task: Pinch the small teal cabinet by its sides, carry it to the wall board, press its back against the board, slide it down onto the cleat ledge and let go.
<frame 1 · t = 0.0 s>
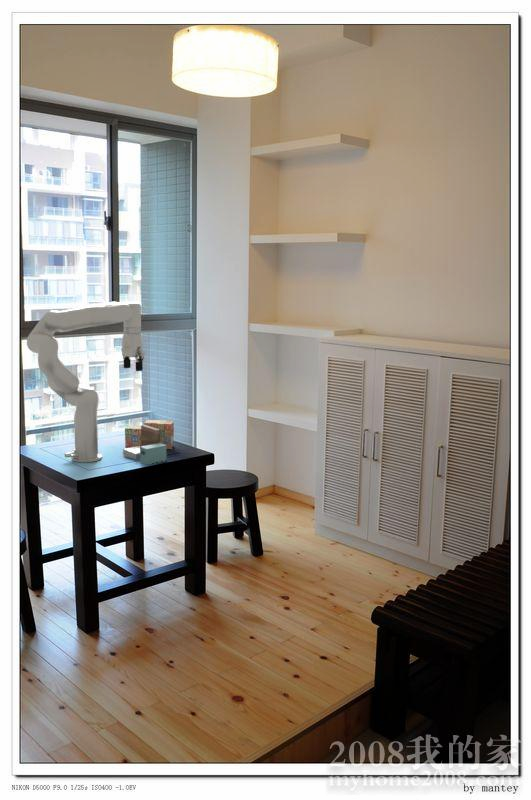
hand: (133, 369, 330), 37 cm above the table, tool pointing down, fingers open, 9 cm apart
wall board: (150, 453, 331), on the table
teal cabinet: (153, 461, 319), on the table
stack of blocks: (149, 447, 342), on the table
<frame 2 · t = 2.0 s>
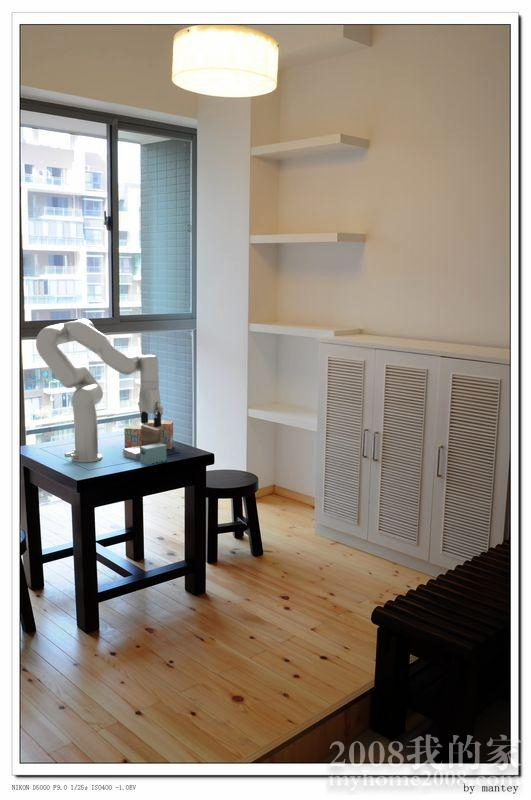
hand: (151, 424, 315), 16 cm above the table, tool pointing down, fingers open, 9 cm apart
nothing on the table moved.
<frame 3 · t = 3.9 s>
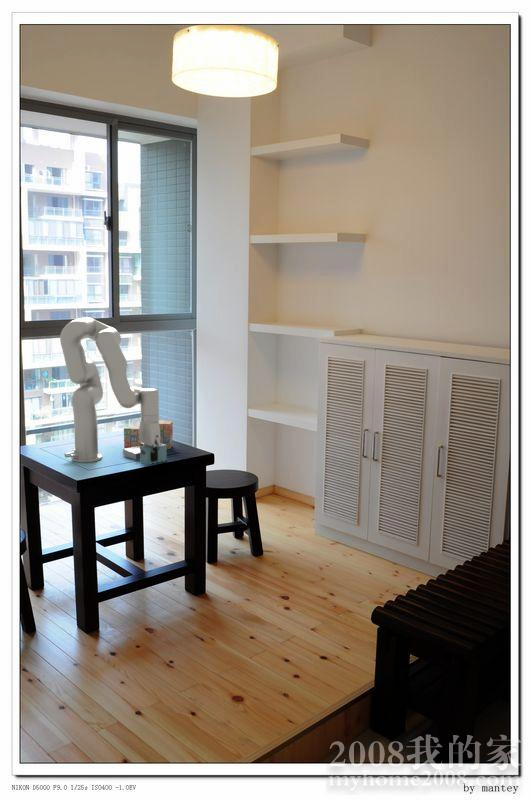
hand: (150, 459, 318), 1 cm above the table, tool pointing down, fingers closed on teal cabinet, 5 cm apart
teal cabinet: (153, 461, 319), on the table, touching gripper
everything else where it was.
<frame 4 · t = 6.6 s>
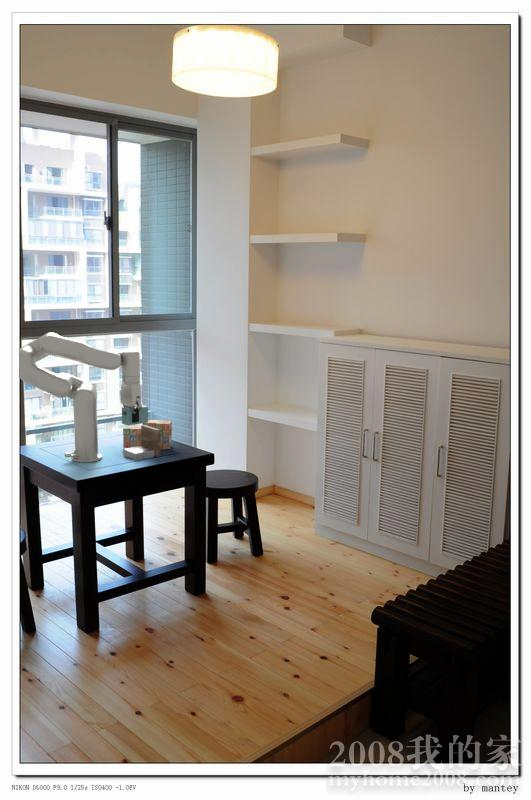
hand: (132, 420, 322), 16 cm above the table, tool pointing down, fingers closed on teal cabinet, 5 cm apart
teal cabinet: (135, 422, 323), point 15 cm above the table, touching gripper
everything else where it was.
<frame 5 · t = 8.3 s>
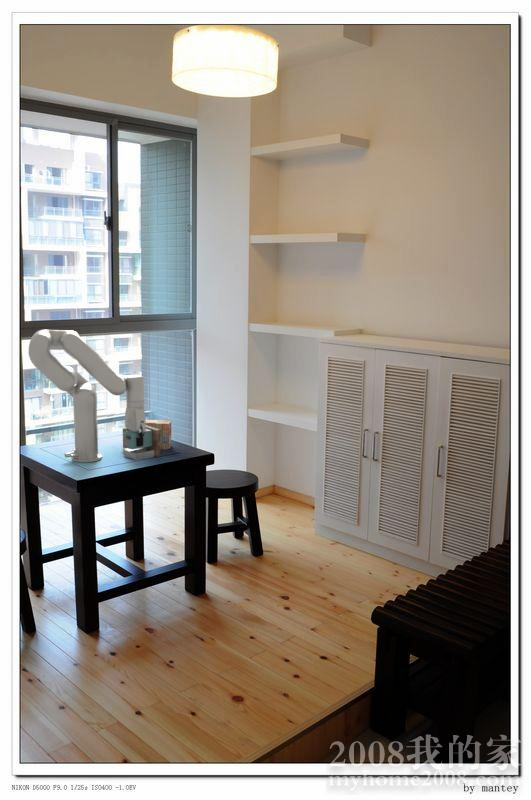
hand: (136, 444, 325), 6 cm above the table, tool pointing down, fingers closed on teal cabinet, 5 cm apart
teal cabinet: (139, 446, 326), point 4 cm above the table, touching gripper, wall board
when the fingers open (4 cm above the table, at t = 9.5 s): teal cabinet stays where it is, resting on wall board.
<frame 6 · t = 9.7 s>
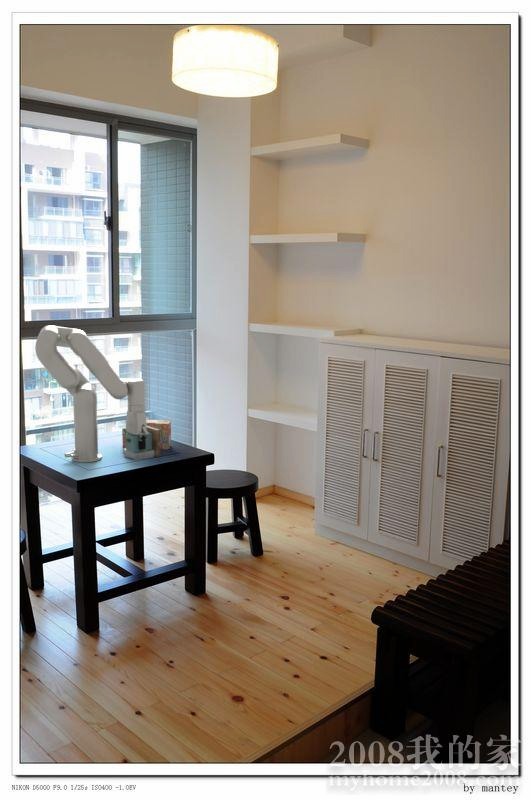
hand: (137, 447, 326), 4 cm above the table, tool pointing down, fingers open, 7 cm apart
teal cabinet: (139, 449, 327), point 3 cm above the table, touching wall board
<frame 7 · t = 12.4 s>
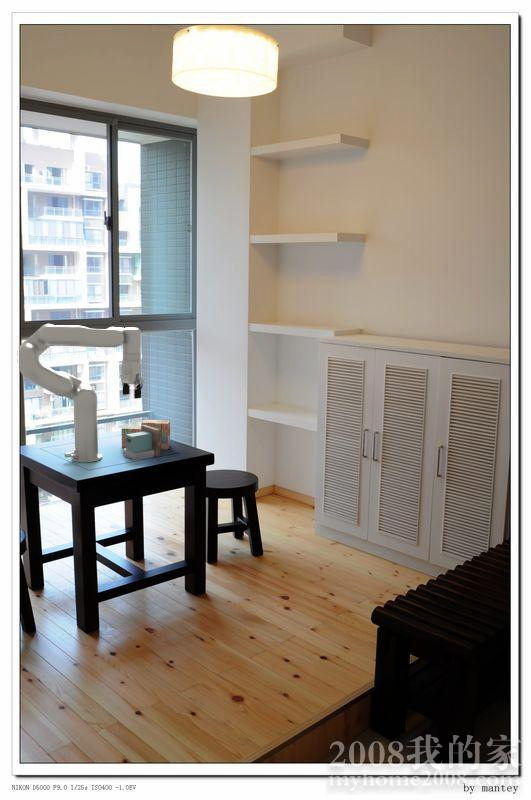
hand: (131, 396, 322), 27 cm above the table, tool pointing down, fingers open, 9 cm apart
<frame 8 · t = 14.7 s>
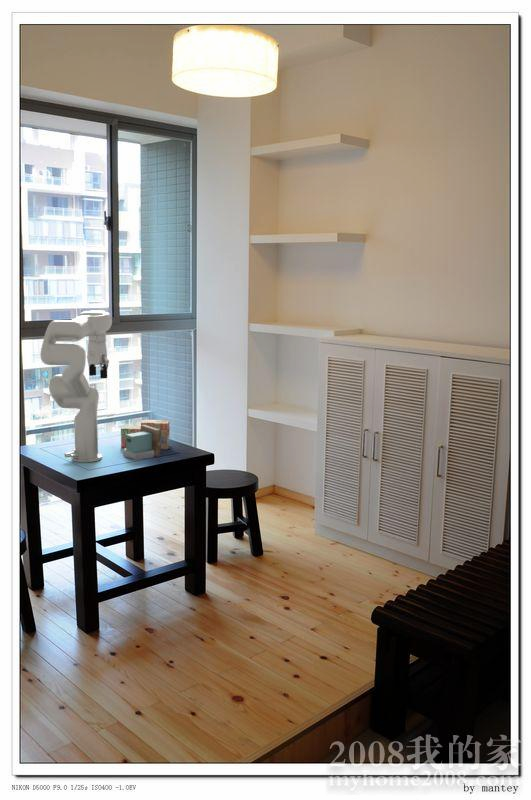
hand: (98, 376, 336), 32 cm above the table, tool pointing down, fingers open, 9 cm apart
at the end: teal cabinet 0.1 cm from the target spot on the wall board, point 3.0 cm above the wall board's base; teal cabinet tilted 0°; the gripper is holding nothing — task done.
